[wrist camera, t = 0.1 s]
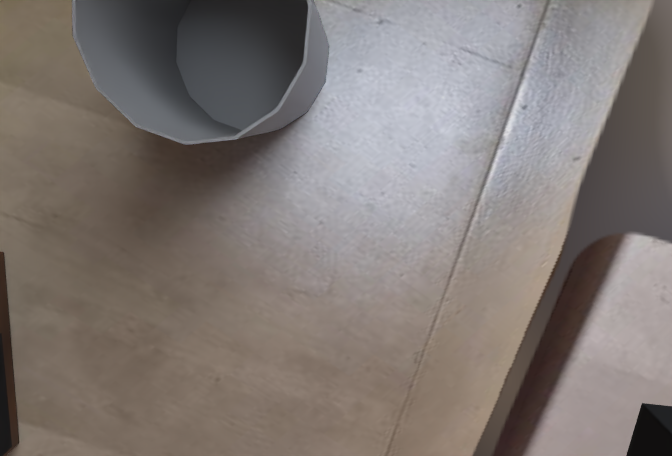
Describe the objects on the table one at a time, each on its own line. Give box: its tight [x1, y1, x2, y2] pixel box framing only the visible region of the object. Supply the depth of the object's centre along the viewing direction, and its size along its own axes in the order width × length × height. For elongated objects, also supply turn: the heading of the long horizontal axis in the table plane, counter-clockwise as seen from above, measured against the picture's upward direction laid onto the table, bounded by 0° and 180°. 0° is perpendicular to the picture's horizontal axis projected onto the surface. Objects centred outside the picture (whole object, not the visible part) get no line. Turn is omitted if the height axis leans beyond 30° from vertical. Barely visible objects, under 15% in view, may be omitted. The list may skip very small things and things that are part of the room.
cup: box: [72, 0, 329, 145], centre depth 21 cm, size 8×8×10 cm
